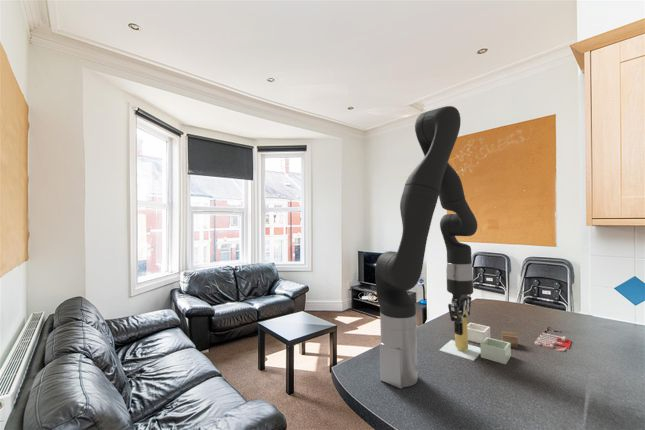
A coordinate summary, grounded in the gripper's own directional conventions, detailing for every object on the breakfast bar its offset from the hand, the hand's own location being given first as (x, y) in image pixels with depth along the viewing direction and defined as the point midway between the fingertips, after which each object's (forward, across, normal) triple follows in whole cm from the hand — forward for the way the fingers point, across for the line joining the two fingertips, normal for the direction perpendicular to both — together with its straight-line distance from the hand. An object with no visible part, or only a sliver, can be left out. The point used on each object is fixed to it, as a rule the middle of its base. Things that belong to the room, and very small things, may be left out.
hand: (461, 332), depth 91 cm
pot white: (+6, +12, -1) cm, 14 cm away
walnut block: (+6, +14, -10) cm, 18 cm away
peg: (+5, 0, 0) cm, 5 cm away
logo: (+7, +30, -19) cm, 37 cm away
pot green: (+6, +2, -9) cm, 11 cm away
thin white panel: (+6, 0, 0) cm, 6 cm away
